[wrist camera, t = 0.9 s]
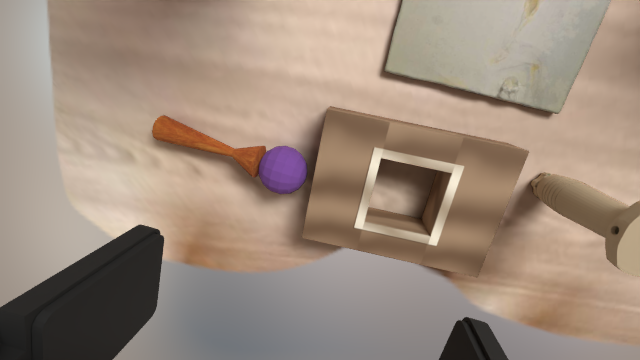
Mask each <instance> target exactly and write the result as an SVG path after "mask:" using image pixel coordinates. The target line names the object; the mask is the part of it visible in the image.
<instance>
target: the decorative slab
mask: <svg viewBox="0 0 640 360" xmlns="http://www.w3.org/2000/svg"><path fill="white" fill-rule="evenodd" d="M610 2H611V0H402V5H401V9H400V13H399V15H398V18H397V23H396V26H395V29H394V33H393V37H392V41H391V45H390V50H389V54H388V59H387V63H386V66H385V69H384V70H385V72H389V73H392V74H396V75H399V76H403V77H407V78H411V79H416V80H422V81H428V82H433V83H437V84H442V85H445V86H448V87H452V88H456V89H460V90H464V91H468V92H472V93H476V94H480V95H483V96H489V97H492V98H496V99H499V100H503V101H508V102H513V103H517V104H520V105H523V106H526V107H532V108H536V109H540V110H544V111H547V112H551V113H555V114H559V112H560V111H561V109H562V107H563V105H564V103H565V100H566V98H567V96H568V93H569V91H570V89H571V87H572V85H573V83H574V81H575V79H576V77H577V74H578V72H579V70H580V68H581V66H582V64H583V62H584V59H585V57H586V55H587V53H588V51H589V48H590V46H591V43H592V41H593V39H594V37H595V35H596V33H597V31H598V28H599V26H600V24H601V22H602V20H603V18H604V16H605V13H606V11H607V9H608V6H609V4H610Z"/></svg>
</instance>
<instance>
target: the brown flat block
mask: <svg viewBox="0 0 640 360" xmlns="http://www.w3.org/2000/svg"><path fill="white" fill-rule="evenodd" d="M528 153H529V151H527V150H524V149H522V148H519V147H516V146H514V145H511V144H508V143H504V142H500V141H495V140H490V139H485V138H480V137H475V136H471V135H466V134H461V133H456V132H451V131H447V130H442V129H437V128H432V127H427V126H422V125H418V124H413V123H408V122H403V121H398V120H394V119H389V118H384V117H379V116H374V115H369V114H365V113H360V112H355V111H350V110H345V109H340V108H336V107H331V106H330V107H329V108H328V109H327V112H326V117H325V122H324V127H323V132H322V137H321V142H320V147H319V152H318V157H317V163H316V168H315V173H314V178H313V183H312V188H311V193H310V198H309V203H308V208H307V213H306V218H305V224H304V229H303V234H302V238H305V239H310V240H314V241H319V242H323V243H327V244H332V245H336V246H341V247H345V248H350V249H354V250H358V251H363V252H368V253H372V254H376V255H380V256H385V257H389V258H394V259H398V260H403V261H407V262H411V263H416V264H420V265H425V266H429V267H433V268H438V269H442V270H447V271H451V272H456V273H460V274H464V275H469V276H473V277H478V275H479V272H480V270H481V267H482V265H483V263H484V260H485V258H486V255H487V253H488V250H489V248H490V246H491V243H492V241H493V238H494V236H495V233H496V231H497V229H498V226H499V224H500V221H501V219H502V216H503V214H504V212H505V209H506V207H507V204H508V202H509V199H510V197H511V195H512V192H513V190H514V187H515V185H516V183H517V180H518V178H519V175H520V173H521V170H522V168H523V166H524V163H525V161H526V158H527V156H528ZM381 158H383V159H388V160H392V161H397V162H402V163H407V164H411V165H416V166H421V167H425V168H430V169H435V170H437V173H436V176H435V179H434V182H433V185H432V188H431V191H430V194H429V197H428V200H427V203H426V206H425V210H424V213H423V216H422V219H420V218H415V217H411V216H406V215H402V214H397V213H393V212H388V211H384V210H379V209H375V208H370V207H368V206H369V202H370V198H371V195H372V191H373V187H374V183H375V179H376V175H377V172H378V168H379V164H380V160H381Z"/></svg>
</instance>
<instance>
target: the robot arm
mask: <svg viewBox="0 0 640 360" xmlns="http://www.w3.org/2000/svg"><path fill="white" fill-rule="evenodd" d="M163 246H164V237H163V236H162V235H160V231H159V230H158V229H155V228H151V227H148V226H144V225H138V226H136V227H134V228H132V229H131V230H129V231H127V232H126V233H124V234H122V235H121V236H119V237H117V238H116V239H114V240H112V241H111V242H109V243H107V244H106V245H104V246H102V247H101V248H99V249H97V250H95V251H94V252H92V253H90V254H89V255H87V256H85V257H84V258H82V259H80V260H79V261H77V262H75V263H74V264H72V265H70V266H69V267H67V268H65V269H64V270H62V271H60V272H59V273H57V274H55V275H54V276H52V277H50V278H49V279H47V280H45V281H44V282H42V283H40V284H39V285H37V286H35V287H34V288H32V289H31V290H29V291H27V292H25V293H24V294H22V295H21V296H18V297H17V298H15V299H13V300H12V301H10V302H8V303H7V304H5V305H3V306H2V307H0V360H112V359H114V357H115V356H116V355H117V354H118V353H119V352H120V351H121V350H122V349H123V348H124V346H125V345H126V344H127V343H128V342H129V341H130V340H131V339H132V338H133V337H134V336H135V335H136V334H137V332H138V331H139V330H140V329H141V328H142V327H143V326H144V325H145V324H146V323H147V321H148V320H149V319H150V318H151V317H152V316H153V314H154V312H155V310H156V307H157V300H158V291H159V282H160V272H161V264H162V255H163ZM439 360H508V358H507V356H506V355H505V353H504V351H503V350H502V348H501V346H500V344H499V343H498V341H497V339H496V338H495V336H494V334H493V332H492V330H491V329H490V327H489V325H488V324H487V323H485V322H482V321H479V320H475V319H472V318H468V317H465V318H464V319H463V320H462V321H460V320H459V321H457V322H456V324H455V326H454V328H453V330H452V332H451V335H450V337H449V339H448V341H447V343H446V345H445V347H444V350H443V352H442V354H441V356H440V358H439Z"/></svg>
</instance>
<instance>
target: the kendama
mask: <svg viewBox="0 0 640 360" xmlns="http://www.w3.org/2000/svg"><path fill="white" fill-rule="evenodd" d="M152 133H153V137H154V138H155V139H156V140H160V141H164V142H168V143H173V144H177V145H182V146H186V147H191V148H195V149H199V150H204V151H208V152H213V153H217V154H221V155H226V156H230V157H233V158H234V159H235V160H236V161H237V162H238V163H239V164H240V165H241V166H242V167H243V168H244V169H245V170H246V171H247V172H248V173H249V174H250V175H251V176H252V177H256V176H257V175H258V174H259V176H260V179H261V181H262V183H263V185H264V186H266V187H267V188H268V189H269V190H270V191H273V192H276V193H279V194H289V193H292V192H294V191H296V190H298V189H299V188H300V186H301V185H302V184H303V183H304V182H305V180H306V177H307V164H306V162H305V160H304V158H303V156H302V155H301V154H300V153H299V152H298V151H297V150H296V149H294V148H291V147H288V146H278V147H275V148H273V149H271V150H269V151H267V152H266V147H265V146H257V147H248V148H238V149H234V148H232V147H230V146H228V145H226V144H224V143H222V142H219V141H217V140H215V139H213V138H211V137H209V136H207V135H205V134H203V133H200V132H198V131H196V130H194V129H192V128H190V127H188V126H186V125H184V124H182V123H179V122H177V121H175V120H173V119H171V118H169V117H167V116H165V115H164V116H160V117H159V118H157V120H156V121H155V123H154V125H153V130H152Z"/></svg>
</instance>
